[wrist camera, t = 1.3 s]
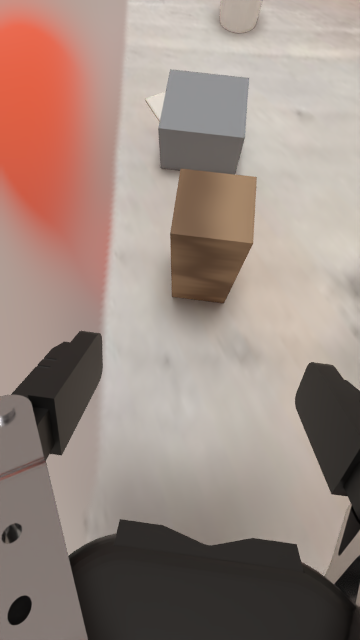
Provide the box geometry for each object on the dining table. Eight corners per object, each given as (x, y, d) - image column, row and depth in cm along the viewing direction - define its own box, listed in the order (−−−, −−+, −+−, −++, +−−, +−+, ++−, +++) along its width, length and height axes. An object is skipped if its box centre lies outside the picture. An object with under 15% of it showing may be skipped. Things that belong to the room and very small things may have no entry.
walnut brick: (227, 257, 30) (256, 177, 19) (223, 303, 28) (253, 243, 18) (178, 251, 30) (180, 168, 19) (172, 296, 28) (170, 233, 18)
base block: (239, 121, 36) (249, 77, 31) (234, 176, 33) (244, 137, 28) (170, 114, 36) (170, 69, 31) (160, 167, 33) (158, 128, 28)
